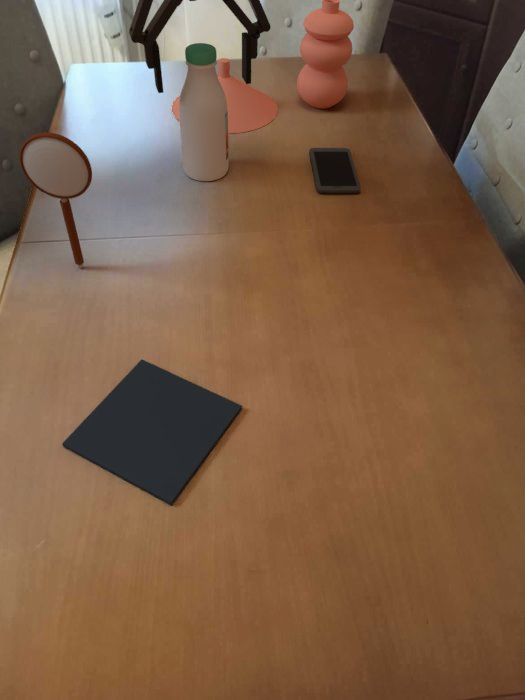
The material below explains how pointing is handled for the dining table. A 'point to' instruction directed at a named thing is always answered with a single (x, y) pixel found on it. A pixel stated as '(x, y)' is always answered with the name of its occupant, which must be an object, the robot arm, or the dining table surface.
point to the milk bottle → (203, 116)
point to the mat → (154, 430)
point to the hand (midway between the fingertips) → (203, 84)
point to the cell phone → (334, 170)
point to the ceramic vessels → (313, 81)
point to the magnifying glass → (58, 175)
